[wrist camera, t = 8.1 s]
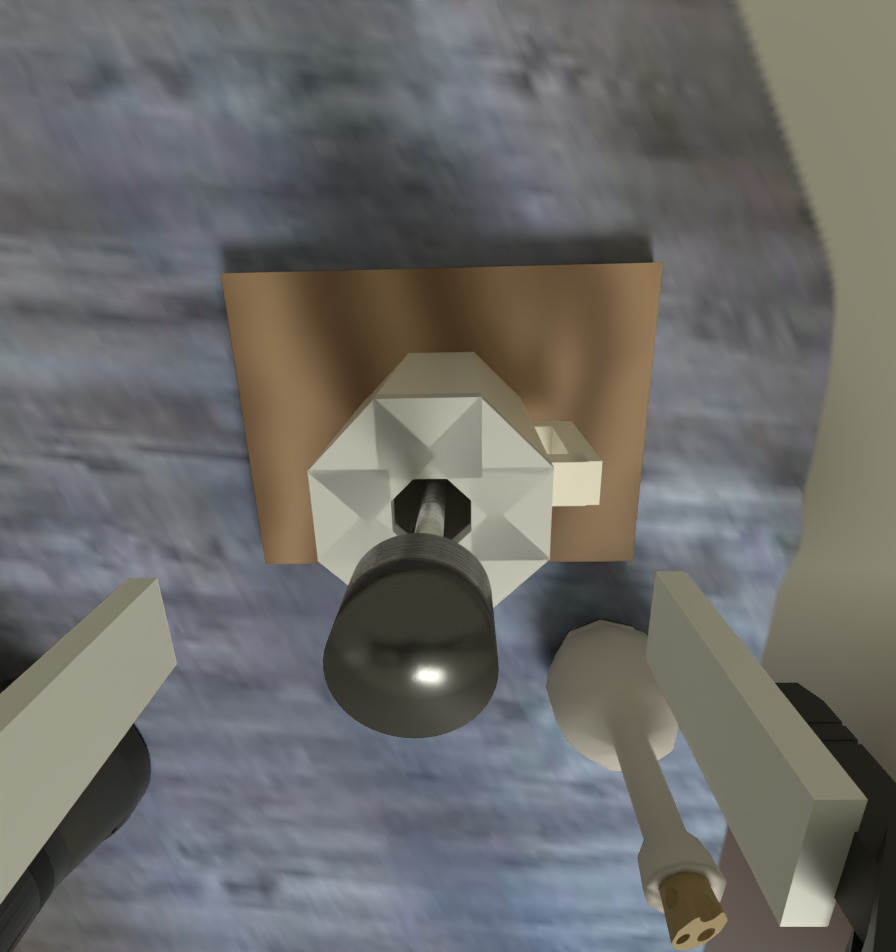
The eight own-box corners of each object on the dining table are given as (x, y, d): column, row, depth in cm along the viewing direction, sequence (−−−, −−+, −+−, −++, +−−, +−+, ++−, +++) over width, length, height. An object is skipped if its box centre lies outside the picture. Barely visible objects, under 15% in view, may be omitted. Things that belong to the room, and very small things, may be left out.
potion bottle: (560, 597, 38) (637, 853, 21) (680, 624, 38) (852, 895, 21) (525, 694, 41) (569, 988, 24) (638, 718, 41) (759, 1022, 24)
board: (273, 553, 37) (265, 563, 36) (232, 273, 31) (220, 273, 30) (625, 550, 37) (632, 561, 35) (653, 263, 30) (663, 262, 29)
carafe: (373, 499, 34) (324, 619, 22) (362, 353, 31) (298, 399, 19) (559, 497, 34) (612, 618, 22) (566, 349, 31) (633, 393, 19)
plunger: (409, 468, 32) (331, 738, 13) (406, 401, 31) (314, 594, 12) (477, 467, 32) (498, 738, 13) (477, 400, 30) (499, 593, 12)
